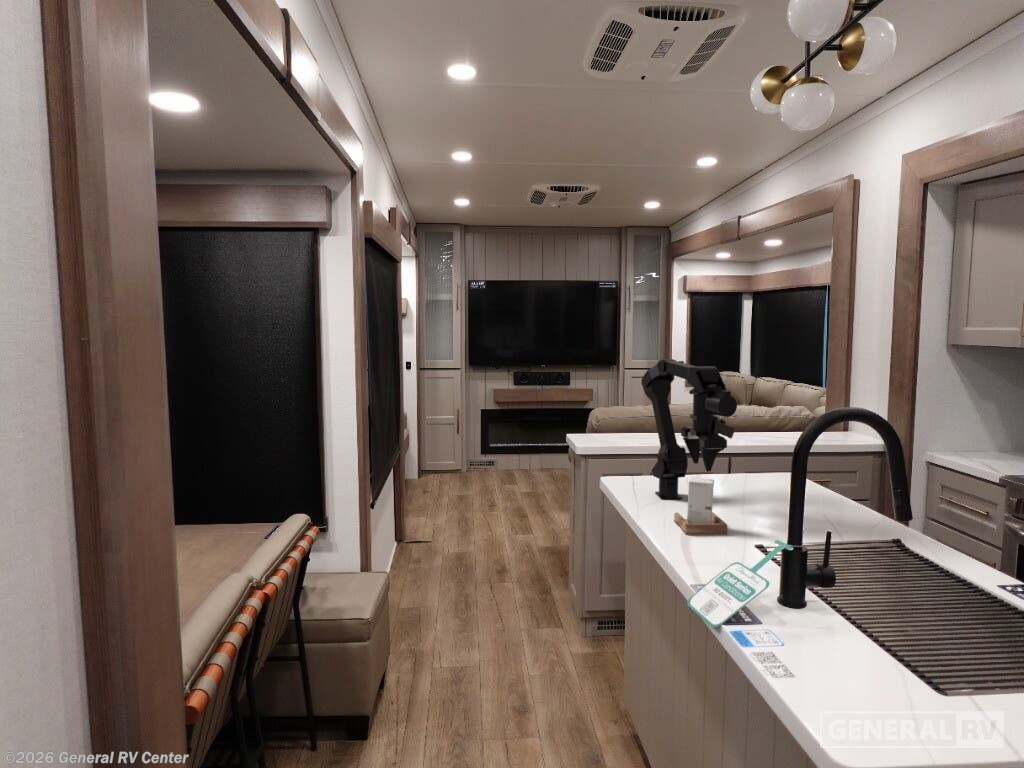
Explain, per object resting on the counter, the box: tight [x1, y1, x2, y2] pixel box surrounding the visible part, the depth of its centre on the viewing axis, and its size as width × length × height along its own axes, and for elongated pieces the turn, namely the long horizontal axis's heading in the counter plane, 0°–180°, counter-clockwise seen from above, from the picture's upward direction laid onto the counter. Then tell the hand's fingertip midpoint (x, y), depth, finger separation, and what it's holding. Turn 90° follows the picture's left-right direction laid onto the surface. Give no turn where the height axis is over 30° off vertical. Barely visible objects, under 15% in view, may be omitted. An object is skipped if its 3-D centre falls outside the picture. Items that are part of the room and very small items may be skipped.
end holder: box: [673, 511, 728, 536], centre depth 154 cm, size 10×10×2 cm
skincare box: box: [686, 476, 715, 524], centre depth 154 cm, size 6×4×12 cm
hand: (702, 467), depth 165 cm, fingers open, 9 cm apart
